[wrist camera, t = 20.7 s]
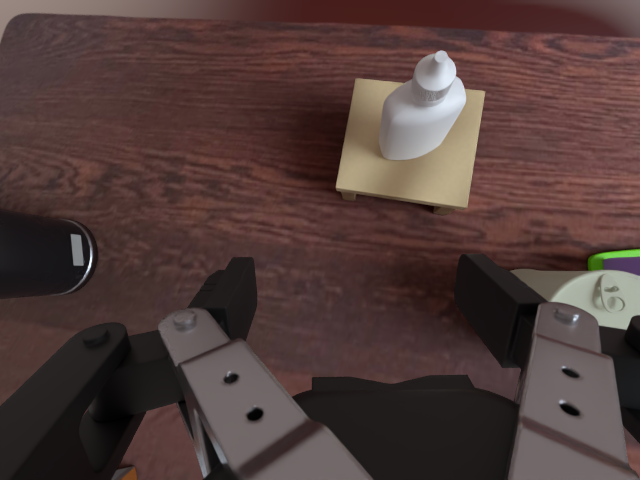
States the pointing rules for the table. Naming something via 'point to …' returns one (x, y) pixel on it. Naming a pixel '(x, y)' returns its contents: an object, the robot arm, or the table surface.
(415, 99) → the eye dropper bottle
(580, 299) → the can
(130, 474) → the alarm clock
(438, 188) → the stand
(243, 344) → the robot arm
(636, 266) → the dollhouse room
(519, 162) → the table surface
